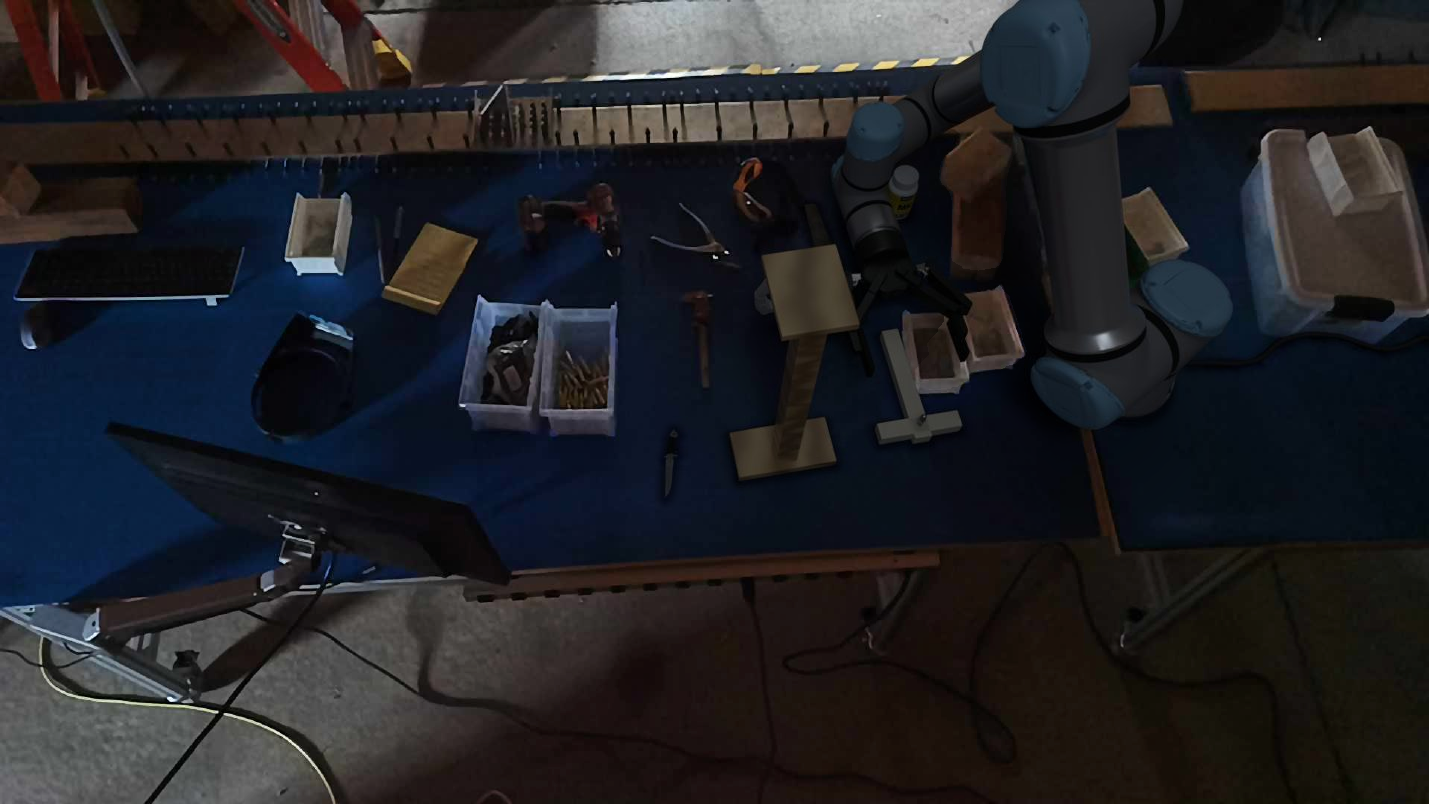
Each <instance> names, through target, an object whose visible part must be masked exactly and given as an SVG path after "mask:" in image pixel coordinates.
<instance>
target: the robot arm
mask: <svg viewBox="0 0 1429 804" xmlns="http://www.w3.org/2000/svg"><path fill="white" fill-rule="evenodd" d="M1183 5H1184V0H1017V1H1016V2H1015V3H1014V5H1013V6H1010V7H1009V8H1008V9H1006V10H1005V11H1004V12H1002V14H1001V15H999V16H998V17H997V18H996V20H995V21H994V22H993V23H992V25H991V27H990V28H989V29H988V31H987V33H986V35H985V37H984V40H983V43H982V46H981V48H980V50H978V51H976V52H975V53H973V54H972V55H969V56H968V57H967V58H965V59H963V60H961V61H960V62H959V63H957V64H955V65H954V66H952V67H951V68H948V69H947V70H946V71H944V72H941V73H940V74H937V75H936V76H934V77H933V78H931V79H930V80H929V81H927V82H926V83H924V84H922V85H921V86H919V87H918V88H916V89H915V90H913V91H912V92H909V93H908V94H907V95H905V96H904V97H902V98H900V99H898V100H897V101H895V102H893V103H889V102H886V101H881V100H880V101H879V100H878V101H876V102H873V103H872V102H867V103H864V104H863V105H861V106H860V107H858V108H857V109H856V111H854V113H853V116H852V118H851V122H850V126H849V127H848V131H847V133H846V139H845V140H846V141H845V142H846V143H845V148H844V152H843V154H842V155H841V156H840V157H839V158H837V161H836V162H835V163H833V164H832V166H831V170H830V179H831V184H832V192H834V193H833V194H834V196H835V197H836V200H837V203H838V207H839V209H840V213H841V216H842V219H843V222H844V225H845V228H846V232H847V234H848V238H849V240H850V244H851V247H852V250H853V254H854V258H855V260H856V264H857V267H858V270H859V273H852V272H851V271H850V270H844V273H845V277H846V280H847V283H848V286H849V290H850V293H852V294H853V290H855V289H856V288H857V286H858V284H861V286H863V287H864V288H865V289H867V292H866V294H865V295H864V297H863V299H862V300H861V302H860V304H859V305H858V307H857V311H856V313H857V316H858V319H859V323H860V325H859V329H855V330H849V331H842V332H836V333H832V334H833V336H835V337H840V336H844V337H845V338H844V339H845V340H846V341H848V343H849V347H850V349H851V353H852V355H853V356H854V357H860V360H861V364H862V367H863V369H864V370H863V371H864V374H865V377H866V379H868V378H873V375H874V372H875V370H876V365H875V362H874V360H873V356H872V352H871V349H870V346H869V343H868V339H867V335H866V333H865V330H864V327H861V325H862V324H863V322H864V320H865V318H866V317H867V315H868V313H869V312H870V309H871V308H872V306H873V305H874V304H875V302H876V300H877V299H878V298H879V299H882V300H889V299H892V298H902V297H905V295H907V296H908V297H910V298H911V299H916V300H918V301H919V302H921V303H923V304H924V305H926V306H927V307H929V308H931V309H932V310H933V311H935V312H937V313H939V314H940V315H941V316H943V317H945V318H946V319H947V322H946V323H945V325H946V327H947V330H948V333H949V336H950V338H951V341H952V344H953V347H954V350H955V352H956V356H957V358H958V361H959V363H965V362H966V361H967V359H968V357H969V355H970V353H971V350H970V347H969V345H968V342H967V340H966V339H967V336H968V334H969V328H968V325H967V323H966V319H965V317H966V316H968V315H969V314H970V311H971V309H972V307H973V304H974V303H973V301H972V300H971V299H970V298H969V297H968V296H967V295H966V294H965V293H964V292H963V291H962V290H961V289H959V288H958V287H957V285H955V284H954V283H953V281H951V280H950V279H949V278H948V277H947V276H946V275H945V274H944V273H943V272H942V271H941V270H940V269H939V268H938V266H937V264H936V262H935V260H934V259H933V258H931V257H928V258H926V259H925V262H922V263H919V264H915V263H914V262H912V260H911V257H910V253H909V249H908V247H907V244H906V241H905V238H904V236H903V234H902V230H901V227H900V223H899V220H897V218H896V216H895V213H894V210H893V207H892V204H891V201H890V198H889V195H888V190H887V189H888V185H889V181H890V179H891V177H892V176H893V173H894V169H895V166H896V164H897V163H898V162H899V161H901V160H903V159H904V158H907V157H908V156H909V155H911V154H913V153H914V152H916V151H918V149H920V148H922V147H923V146H925V145H926V144H928V143H929V142H931V141H933V140H934V139H936V138H937V137H939V136H941V135H943V134H944V133H946V132H948V131H949V130H951V129H954V128H956V127H957V126H960V125H961V124H963V123H966V122H967V121H969V120H971V119H972V118H974V117H976V116H979V115H980V114H982V113H984V112H986V111H988V110H991V109H992V108H994V107H995V108H994V112H995V114H996V115H997V116H998V117H999V118H1000V119H1001V120H1002V121H1004V122H1006V123H1007V124H1009V125H1011V126H1012V129H1013V132H1014V134H1015V135H1016V136H1018V137H1020V138H1021V139H1023V140H1025V141H1027V142H1029V143H1030V150H1031V158H1032V164H1033V165H1032V166H1033V173H1034V178H1035V185H1036V192H1037V199H1038V200H1037V201H1038V207H1039V214H1040V221H1041V228H1042V236H1043V243H1044V249H1045V257H1046V263H1047V264H1046V265H1047V270H1048V278H1049V285H1050V293H1051V299H1052V307H1053V312H1052V313H1051V314H1050V315H1049V317H1048V318H1047V319H1046V321H1045V323H1044V327H1043V335H1044V342H1045V343H1044V344H1045V349H1046V352H1045V355H1044V356H1042V357H1039V358H1038V359H1037V360H1036V361H1035V363H1034V364H1033V366H1032V367H1031V369H1030V375H1029V376H1030V381H1031V384H1032V385H1031V386H1032V387H1033V389H1034V391H1035V393H1036V395H1037V396H1038V398H1039V399H1040V400H1041V401H1042V403H1043V404H1044V405H1045V406H1046V407H1047V408H1048V409H1050V411H1051V412H1053V414H1055V415H1056V416H1057V417H1059V418H1060V419H1062V420H1063V421H1065V422H1067V423H1069V424H1071V425H1073V426H1074V427H1078V428H1080V429H1084V430H1091V431H1093V430H1094V431H1095V430H1100V429H1104V428H1106V427H1108V426H1109V425H1110V424H1112V423H1113V422H1115V421H1116V420H1119V421H1135V420H1141V419H1145V418H1148V417H1149V416H1152V415H1153V414H1155V413H1156V412H1157V411H1158V410H1159V409H1160V408H1161V407H1162V406H1163V405H1165V404H1166V402H1167V401H1168V400H1169V398H1170V397H1171V394H1172V393H1173V390H1174V387H1175V384H1176V383H1175V382H1176V378H1177V377H1178V373H1179V371H1181V369H1183V368H1184V367H1187V366H1188V367H1193V366H1194V367H1196V366H1203V367H1204V366H1217V367H1245V366H1249V365H1254V364H1257V363H1259V362H1261V361H1263V360H1264V359H1266V358H1267V357H1268V356H1270V355H1271V354H1272V353H1273V352H1274V351H1275V350H1276V349H1278V348H1279V347H1280V346H1281V345H1282V344H1285V343H1287V342H1290V341H1294V340H1297V339H1302V338H1332V339H1338V340H1343V341H1346V342H1349V343H1352V344H1355V345H1357V346H1360V347H1363V348H1366V349H1369V350H1373V351H1377V352H1385V353H1386V352H1389V353H1391V352H1397V351H1401V350H1404V349H1406V348H1409V347H1411V346H1414V345H1415V344H1417V343H1420V342H1423V341H1425V342H1429V335H1425V334H1424V335H1420V336H1417V337H1415V338H1413V339H1411V340H1408V341H1406V342H1404V343H1401V344H1398V345H1393V346H1381V345H1376V344H1372V343H1368V342H1366V341H1364V340H1361V339H1358V338H1355V337H1352V336H1349V335H1345V334H1342V333H1337V332H1325V331H1307V332H1305V331H1304V332H1299V333H1294V334H1291V335H1288V336H1284V337H1283V338H1280V339H1278V340H1277V341H1275V342H1274V343H1273V344H1272V345H1271V346H1269V347H1268V348H1267V349H1266V350H1265V351H1264V352H1262V353H1261V354H1260V355H1258V356H1256V357H1253V358H1250V359H1247V360H1231V361H1230V360H1192V359H1193V358H1194V357H1195V356H1196V355H1197V354H1199V352H1200V351H1201V350H1202V349H1203V348H1204V347H1206V345H1208V344H1209V342H1210V341H1212V340H1213V339H1214V338H1215V337H1217V336H1219V335H1220V334H1221V333H1223V331H1224V330H1225V327H1226V326H1227V324H1228V323H1229V322H1230V320H1231V318H1232V317H1233V312H1234V304H1233V301H1232V300H1231V293H1230V291H1229V289H1228V288H1227V286H1226V285H1225V283H1224V282H1223V281H1222V280H1221V279H1220V278H1219V277H1218V276H1217V275H1216V274H1215V273H1214V272H1212V271H1211V270H1209V269H1208V268H1206V267H1204V266H1202V265H1201V264H1198V263H1197V262H1196V263H1195V262H1194V261H1190V260H1189V261H1188V260H1187V261H1184V260H1183V259H1181V258H1180V259H1179V258H1170V259H1169V258H1168V259H1164V260H1160V261H1158V262H1156V263H1154V264H1152V265H1151V266H1150V267H1149V268H1148V269H1146V270H1145V271H1144V272H1142V273H1141V276H1140V278H1139V280H1138V281H1137V282H1136V283H1135V285H1133V287H1131V289H1130V283H1129V282H1130V281H1129V270H1128V257H1127V245H1126V231H1125V220H1124V219H1125V217H1124V209H1123V208H1124V207H1123V194H1122V184H1121V172H1120V171H1121V170H1120V169H1121V168H1120V158H1119V145H1118V133H1117V132H1118V131H1117V124H1118V123H1119V122H1120V121H1121V120H1122V119H1123V117H1124V116H1125V115H1126V114H1127V113H1128V112H1129V111H1130V108H1131V104H1132V103H1131V89H1130V88H1131V86H1130V69H1131V68H1132V67H1133V66H1135V65H1137V64H1138V63H1139V62H1141V61H1142V60H1144V59H1145V58H1147V57H1148V56H1149V55H1151V54H1152V53H1153V52H1156V50H1157V49H1158V48H1159V47H1160V46H1162V44H1163V43H1164V42H1165V41H1166V40H1167V39H1168V38H1169V36H1170V35H1171V33H1172V32H1173V30H1174V29H1175V27H1176V26H1177V23H1178V21H1179V19H1180V17H1181V13H1182V9H1183ZM917 275H920V276H921V278H920V277H918V276H917ZM924 280H926V281H927V282H928V284H929V285H930V286H929V285H927V284H926V283H925V282H924ZM912 285H913V287H912Z"/></svg>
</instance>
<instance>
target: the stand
mask: <svg viewBox="0 0 1429 804" xmlns="http://www.w3.org/2000/svg"><path fill="white" fill-rule="evenodd" d="M760 257H761V258H760V262H761V266H762V270H763V274H764V279H765V278H766V282H767V286H768V290H769V294H768V295H769V297H770V301H771V302H772V306H773V310H774V312H773V313H774V317H775V321H776V325H777V329H778V332H779V337H780V340H781V342H784V341H788V346H787V351H786V357H785V362H784V363H785V364H784V369H783V375H782V381H781V388H780V394H779V400H778V405H777V412H776V416H775V422H774V423H775V424H774V425H767V426H761V427H756V428H749V429H744V430H738V431H731V432H729V441H730V447H731V451H732V455H733V461H734V465H735V470H736V474H737V480H738V482H744V481H748V480H754V479H755V480H756V479H760V478H766V477H772V476H778V475H783V474H789V473H796V472H800V471H806V470H812V469H819V468H824V467H829V466H835V465H836V463H837V457H836V453H835V450H834V446H833V443H832V439H831V434H830V431H829V428H828V423H827V419H826V417H825V416H821V417H820V416H819V417H815V418H809V419H808V416H809V413H810V409H811V404H812V400H813V396H814V391H815V387H816V383H817V379H818V375H819V371H820V366H821V363H822V358H823V355H824V352H825V351H824V350H825V346H826V342H827V338H828V335H829V334H833V333H836V332H842V331H849V330H855V329H859V328H860V327H859V325H860V323H859V319H858V316H857V313H856V310H855V306H854V303H855V302H854V303H853V300H852V296H851V293H850V290H849V286H848V283H847V280H846V277H845V273H844V272H845V270H844V267H843V264H842V260H841V257H840V254H839V251H838V248H837V245H836V244H835V243H834V244H832V245H827V246H820V247H814V246H813V247H808V248H807V247H806V248H800V249H795V250H788V251H781V252H775V253H767V254H762V255H761V256H760ZM860 326H861V325H860Z"/></svg>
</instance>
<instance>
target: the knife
mask: <svg viewBox="0 0 1429 804" xmlns="http://www.w3.org/2000/svg"><path fill="white" fill-rule="evenodd" d="M678 436H679V434H678V433H677V432H676V431H675V430H674V429H673V430H672V431H671V432H670V434H669V437H668V442H667V449H666V450H667V452H666V455H665V456H664V459H665V458H666V461H665V473H664V474H665V476H664V477H665V484H664V486H665V489H664V498H666V497H667V496H668V495H669V492H670V490H671V487H672V482H673V481H672V479H673V467H674V461H675V460H674V458H675V457H678V454H674V453H675V452H674V451H675V450H676V451H677V450H678V448H675V446H676V439H677V437H678Z"/></svg>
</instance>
